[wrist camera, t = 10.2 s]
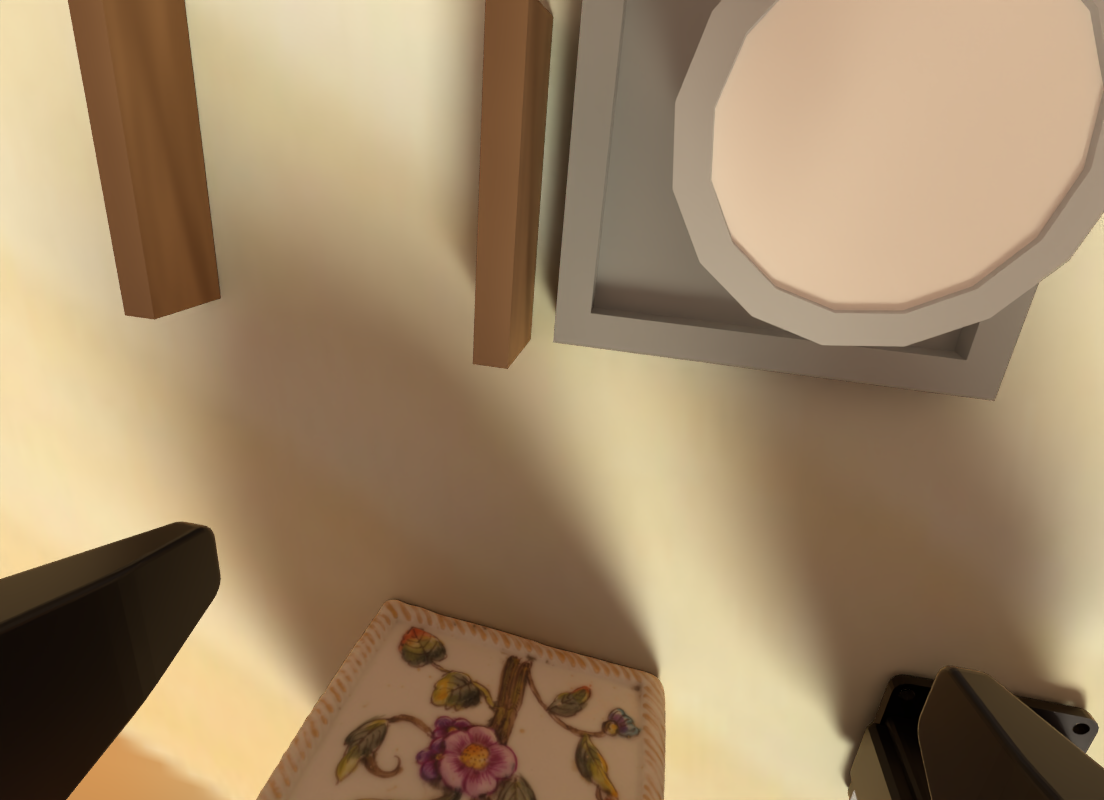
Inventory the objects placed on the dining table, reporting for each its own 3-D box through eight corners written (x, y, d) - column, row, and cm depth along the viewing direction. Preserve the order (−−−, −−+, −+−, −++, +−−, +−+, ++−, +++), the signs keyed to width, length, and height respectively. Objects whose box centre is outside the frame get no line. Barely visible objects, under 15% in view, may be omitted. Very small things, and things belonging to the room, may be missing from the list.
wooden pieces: (553, 16, 17) (529, -10, 14) (530, 339, 20) (507, 369, 17) (153, -8, 18) (61, -35, 16) (194, 294, 22) (125, 315, 19)
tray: (1151, -134, 14) (1209, -169, 12) (968, 380, 18) (994, 400, 17) (605, -147, 15) (597, -178, 14) (562, 328, 20) (553, 342, 18)
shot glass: (647, 252, 18) (630, 308, 11) (709, -33, 15) (732, -169, 9) (897, 300, 17) (1029, 388, 11) (1009, 8, 14) (1275, -106, 8)
